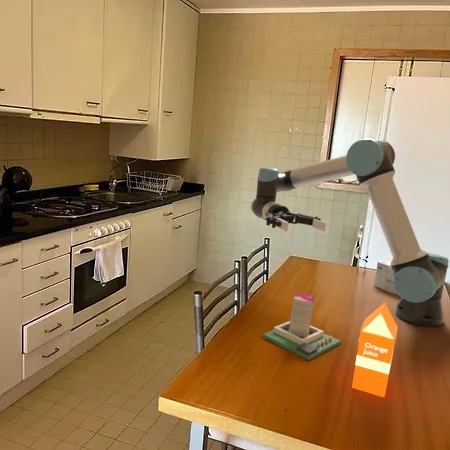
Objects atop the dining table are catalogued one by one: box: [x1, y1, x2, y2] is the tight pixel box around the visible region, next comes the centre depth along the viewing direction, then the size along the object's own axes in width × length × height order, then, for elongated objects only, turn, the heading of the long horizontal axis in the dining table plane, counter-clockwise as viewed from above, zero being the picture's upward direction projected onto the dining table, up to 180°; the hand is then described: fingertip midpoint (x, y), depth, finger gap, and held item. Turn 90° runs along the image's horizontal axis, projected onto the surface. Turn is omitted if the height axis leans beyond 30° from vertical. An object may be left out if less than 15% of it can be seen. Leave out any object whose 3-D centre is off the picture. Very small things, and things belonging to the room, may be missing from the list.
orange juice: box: [351, 301, 398, 398], centre depth 106 cm, size 8×9×20 cm
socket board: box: [262, 320, 342, 361], centre depth 128 cm, size 16×16×2 cm
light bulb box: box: [373, 260, 398, 295], centre depth 180 cm, size 11×7×11 cm, turn 34°
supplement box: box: [289, 292, 315, 338], centre depth 129 cm, size 6×6×12 cm
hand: (306, 226), depth 141 cm, fingers open, 13 cm apart
